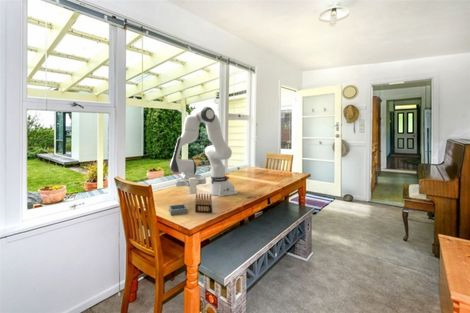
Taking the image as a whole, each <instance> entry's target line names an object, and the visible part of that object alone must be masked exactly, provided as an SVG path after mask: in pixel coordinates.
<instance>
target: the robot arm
mask: <svg viewBox="0 0 470 313" xmlns="http://www.w3.org/2000/svg"><path fill="white" fill-rule="evenodd" d="M201 123H205V128H206V132H207V139H208V140H209V142H211V143H212V144H211V145H208V146H206V147H205V149H204V154H205V156H206V157H207V159H208V161H209V164H210V173H211V176H210V183H211V184H210V191H209V195H210V194H211V196H219V197H223V196H224V197H225V196H231V195H237V194H238V190H237V189H235V185H234V184H233V183H231V182H230V181H229V180H230V177H229V176H227V175H226V166H225V165H224V164H223V162H222V160H223V161H224V160H229V159H230V158H231V157H232V155H233V154H232V153H233V152H232V149H231V147H230V146H228V144H227V143H226V142H225V139H224V136H223V133H222V127H221V123H220V119H219V117H218V115H217V114H216V113H215V111H214V109H213V108H212V107H210V106H199V107H195V108H192V110H191V111H190V113H189V115H188V114H187V116H185V119H184V122H183V131H182V133H181V135H179V136H178V138H177V139H176V142H175V147H174V149H173V154H172V157H171V161H170V163H169V170H170V171H171V172H172V173H173V174H174V173H175V174H176V173H181V174H180V178H179V179H176V180H175V181H174V184H175V186H176V187H177V188H179V187H180V188H181V187H187V188H189V186H190V183H189V178H193V177H195V178H196V186H200V185H206V184H207V178H206V177H204V176H203V175H202V174H196V173H197V163H196V161H195V160H194V159H186V158H185V159H183V158H179V157H180V154H181V151H182V150H181V149H182V148H183V146H185V145H188V144H191V143H194V142H195V141H197V139H198V138H199V130H200V124H201Z"/></svg>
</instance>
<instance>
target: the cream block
mask: <svg viewBox="0 0 470 313" xmlns="http://www.w3.org/2000/svg"><path fill="white" fill-rule="evenodd" d="M189 183H190V186H189V187H188V190H189V194H190V195H196V193H197V189H198V188H197V185H196V178H195V177H193V178H189ZM197 194H198V193H197Z"/></svg>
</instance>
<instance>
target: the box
mask: <svg viewBox="0 0 470 313" xmlns="http://www.w3.org/2000/svg"><path fill="white" fill-rule="evenodd" d="M168 211H169V214H170V215H171V216H176V215H183V214H188V208H187V205H186V204H185V203H183V204H174V205H168Z"/></svg>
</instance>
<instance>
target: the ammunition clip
mask: <svg viewBox="0 0 470 313" xmlns="http://www.w3.org/2000/svg"><path fill="white" fill-rule="evenodd" d="M194 202H195V206H194V207H195V209H194V212H195V213H204V214H212V213H213V204H212V203H213V201H212V195H211V194H210V193H209V194H208V193H204V194H203V193H196V194H195V201H194Z"/></svg>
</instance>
